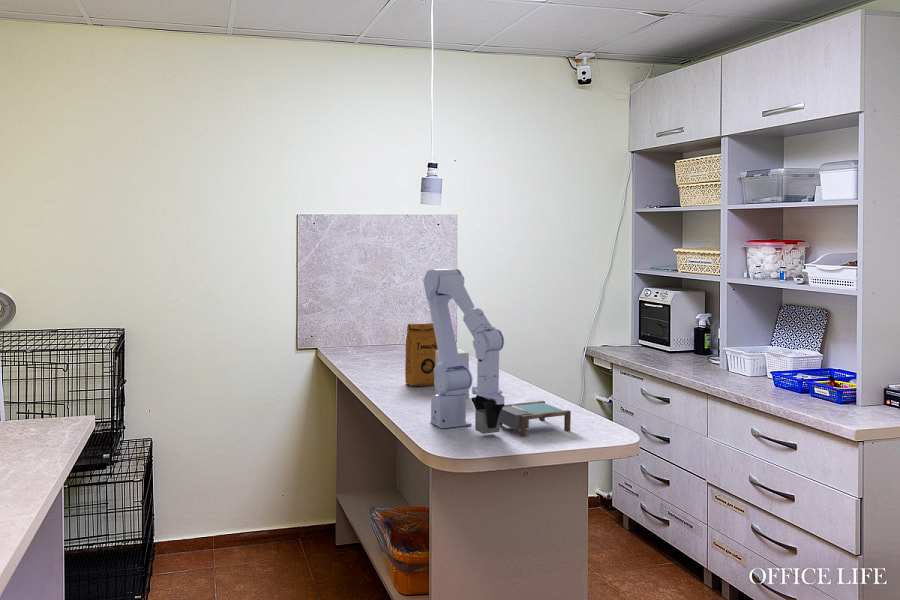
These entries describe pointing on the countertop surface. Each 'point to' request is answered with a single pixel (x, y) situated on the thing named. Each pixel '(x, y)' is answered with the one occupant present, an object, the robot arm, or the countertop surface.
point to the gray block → (484, 422)
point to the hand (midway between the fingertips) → (487, 425)
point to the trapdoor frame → (541, 417)
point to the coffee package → (420, 354)
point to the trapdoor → (523, 413)
